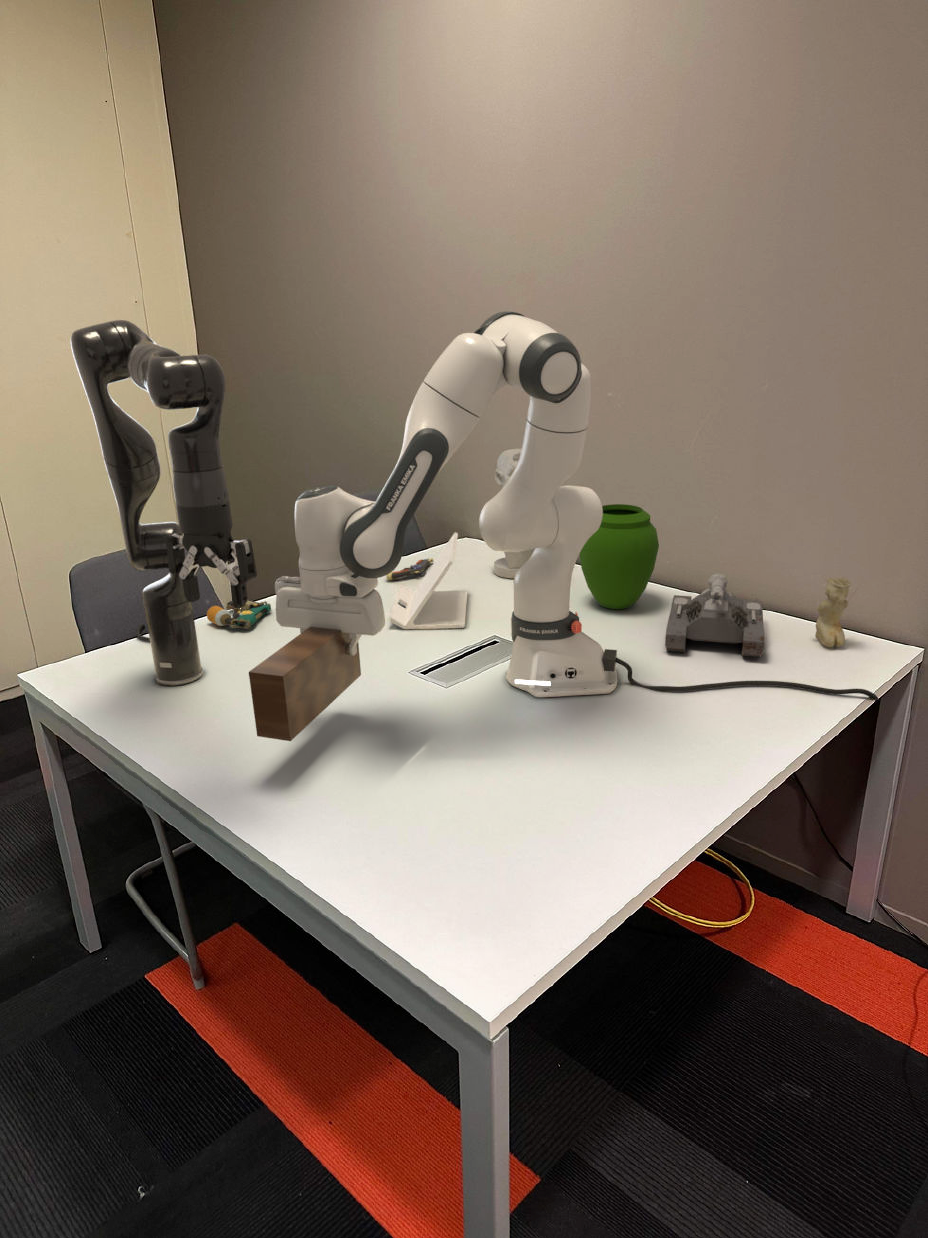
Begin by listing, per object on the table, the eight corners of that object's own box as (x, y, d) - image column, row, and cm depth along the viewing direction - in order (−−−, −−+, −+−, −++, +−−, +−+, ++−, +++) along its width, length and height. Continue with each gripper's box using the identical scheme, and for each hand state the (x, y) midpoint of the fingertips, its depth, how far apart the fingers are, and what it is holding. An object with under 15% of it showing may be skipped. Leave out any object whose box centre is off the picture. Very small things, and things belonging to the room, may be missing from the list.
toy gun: (383, 573, 236) (418, 570, 234) (401, 558, 254) (433, 555, 252) (385, 582, 237) (420, 579, 235) (402, 567, 255) (434, 564, 253)
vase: (599, 587, 227) (601, 497, 218) (668, 600, 216) (673, 505, 208) (562, 608, 212) (564, 513, 204) (634, 623, 202) (639, 523, 193)
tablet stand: (467, 593, 225) (465, 531, 219) (465, 628, 202) (462, 559, 196) (399, 594, 226) (395, 532, 220) (388, 629, 203) (384, 560, 197)
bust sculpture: (503, 593, 225) (502, 460, 212) (483, 567, 247) (480, 445, 234) (562, 587, 228) (563, 456, 215) (536, 562, 250) (536, 441, 237)
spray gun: (240, 607, 222) (287, 616, 216) (195, 625, 208) (245, 635, 202) (239, 591, 221) (287, 600, 215) (194, 608, 206) (244, 618, 200)
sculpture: (821, 649, 184) (830, 583, 179) (808, 637, 191) (816, 573, 185) (848, 649, 184) (858, 582, 179) (834, 636, 191) (843, 572, 185)
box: (331, 671, 161) (326, 614, 157) (361, 675, 159) (356, 617, 155) (257, 736, 138) (248, 671, 134) (290, 741, 136) (283, 676, 132)
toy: (672, 614, 207) (676, 554, 201) (759, 620, 201) (765, 559, 196) (664, 654, 184) (668, 588, 179) (762, 663, 178) (769, 595, 173)
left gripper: (145, 501, 123) (162, 607, 129) (226, 507, 118) (241, 617, 124) (179, 490, 130) (194, 591, 136) (258, 496, 125) (270, 600, 131)
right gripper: (264, 580, 150) (273, 653, 155) (370, 589, 143) (376, 664, 148) (282, 569, 155) (290, 640, 160) (385, 577, 149) (390, 650, 154)
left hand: (216, 603), depth 130 cm, fingers open, 8 cm apart
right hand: (332, 652), depth 154 cm, fingers closed on box, 6 cm apart
